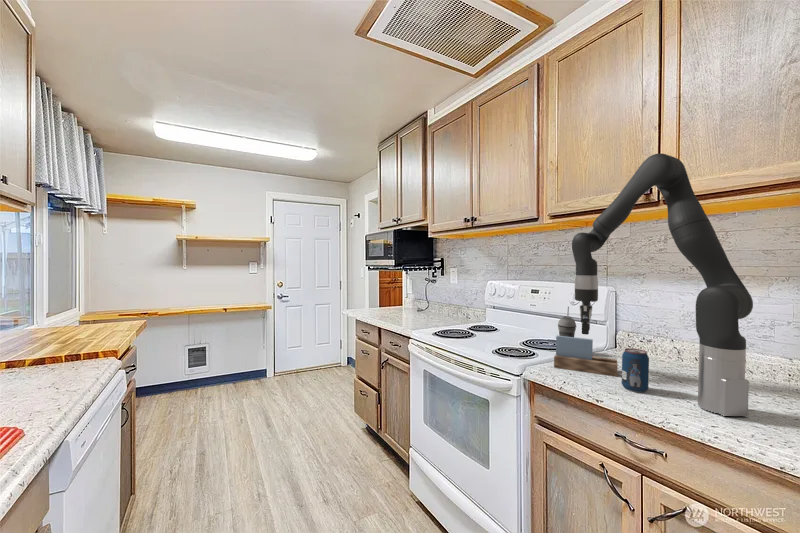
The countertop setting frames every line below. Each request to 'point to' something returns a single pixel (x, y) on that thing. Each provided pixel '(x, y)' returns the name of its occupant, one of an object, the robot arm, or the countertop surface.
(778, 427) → the countertop surface
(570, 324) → the beverage cup
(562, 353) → the door panel
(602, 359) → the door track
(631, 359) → the soda can
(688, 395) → the countertop surface
